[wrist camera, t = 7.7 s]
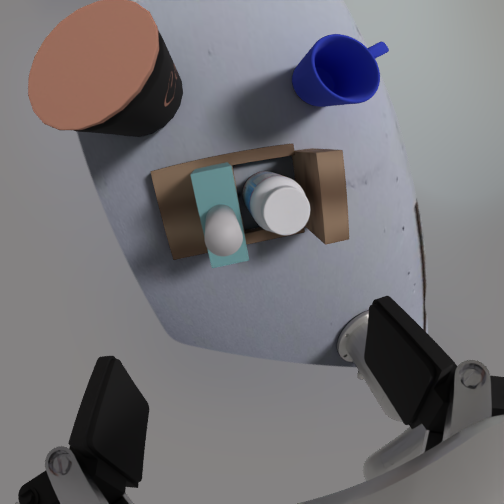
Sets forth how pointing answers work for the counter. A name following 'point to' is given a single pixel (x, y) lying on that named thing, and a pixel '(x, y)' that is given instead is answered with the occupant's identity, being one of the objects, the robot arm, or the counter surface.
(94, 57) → the coffee jar
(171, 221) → the wooden tray
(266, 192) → the pill bottle
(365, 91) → the mug
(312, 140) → the counter surface
